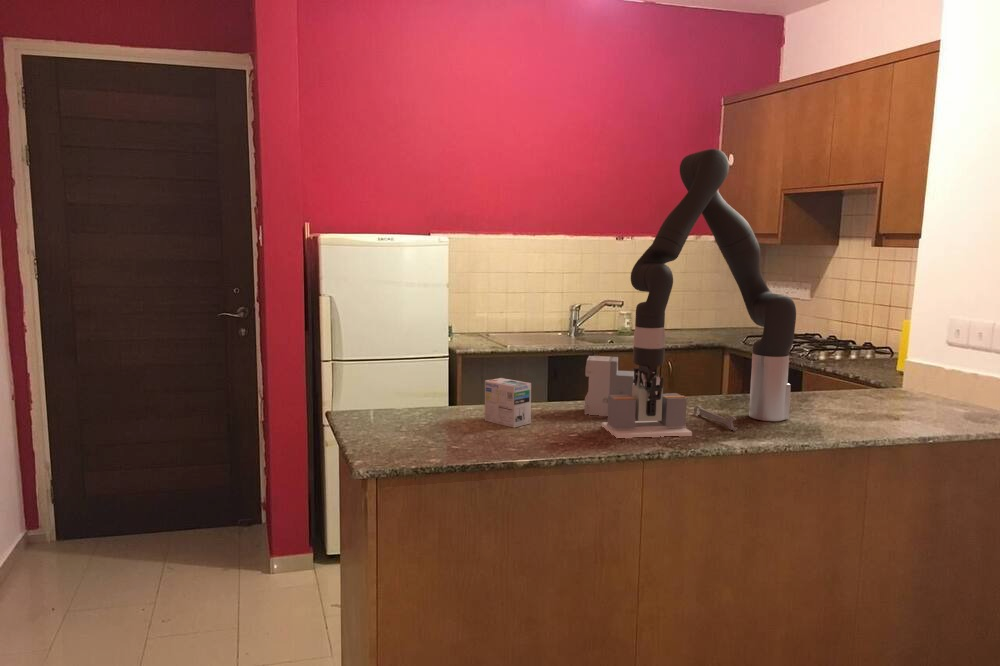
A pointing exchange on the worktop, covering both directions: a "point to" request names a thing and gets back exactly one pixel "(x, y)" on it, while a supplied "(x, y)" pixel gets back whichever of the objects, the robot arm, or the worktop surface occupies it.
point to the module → (645, 404)
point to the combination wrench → (716, 417)
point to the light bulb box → (508, 402)
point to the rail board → (626, 426)
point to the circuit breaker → (605, 383)
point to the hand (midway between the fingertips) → (646, 412)
